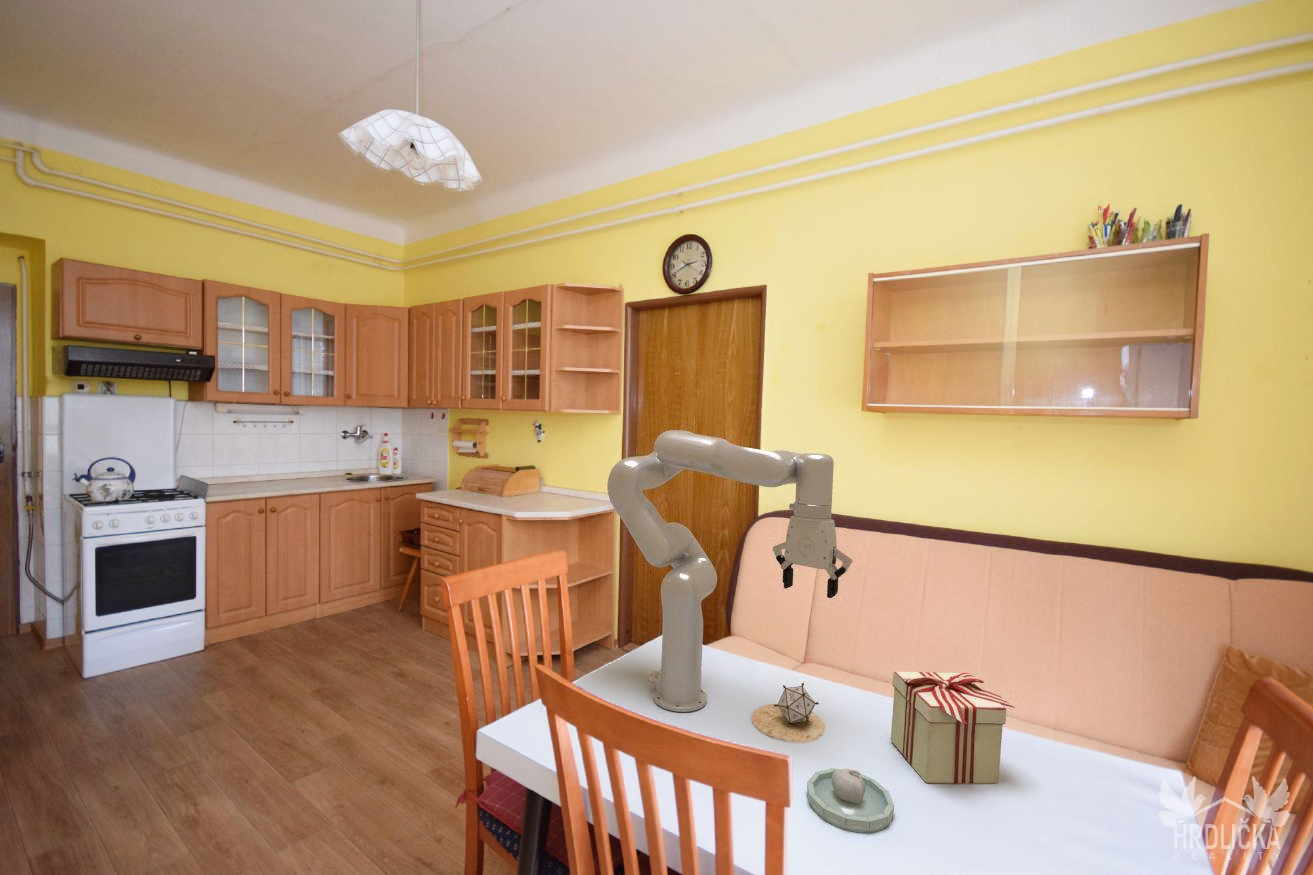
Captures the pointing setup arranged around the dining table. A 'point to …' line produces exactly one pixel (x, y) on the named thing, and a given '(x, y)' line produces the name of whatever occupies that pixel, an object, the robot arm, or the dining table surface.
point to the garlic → (848, 785)
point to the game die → (796, 704)
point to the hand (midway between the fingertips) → (809, 591)
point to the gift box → (948, 727)
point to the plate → (850, 804)
